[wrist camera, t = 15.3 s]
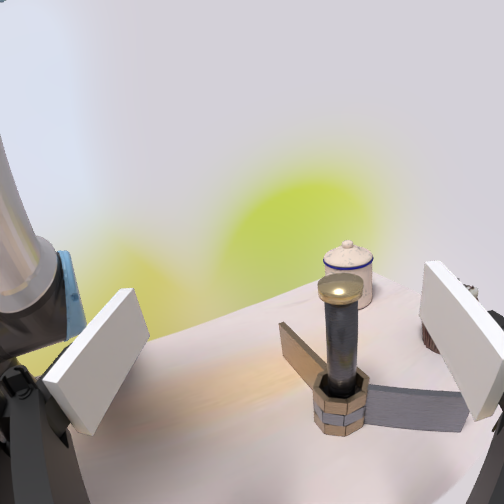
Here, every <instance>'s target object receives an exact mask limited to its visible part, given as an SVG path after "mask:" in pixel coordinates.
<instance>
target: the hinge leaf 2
mask: <svg viewBox="0 0 504 504" xmlns="http://www.w3.org/2000/svg"><path fill="white" fill-rule="evenodd" d="M366 386H367V385H366ZM322 391H323V392H324V393H325V395H326V396H328V385H326V386H324V387H323V389H322ZM361 391H362V389H361V388H360V387H359V386H357V385H355V394H357V393H359V392H361ZM313 405H314V411H315V412H316V414H317V415H318V417H319V418H320V420H321V421H322V422H323V423H326V424H331V425H336V426H342V427H343V426H346V425H349V424H351V423H353V422H355V421H357V420H359V419H361V418H363V415H364V413H365V415H364V423H365V424H372V425H380V426H388V427H396V428H405V429H416V430H429V431H445V432H461V430H462V428H463V425H464V423H465V421H466V419H467V417H468V414H469V412H470V411H469V409H468V406H467V404H466V402H465V400H464V398H463V396H462V394H461V392H450V391H433V390H420V389H408V388H397V387H388V386H379V385H371V384H368V389H367V398H366V404H365V405H364V406H363V407H361V408H359V409H357V410H356V411H354V412H352V413H350V414H348V415H339V414H331V413H325V412H323V411H322V409H321V408H320V407H319V406H318V405H317V404H316V402H315V401H314V400H313Z"/></svg>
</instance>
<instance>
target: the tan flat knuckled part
mask: <svg viewBox="0 0 504 504" xmlns="http://www.w3.org/2000/svg"><path fill="white" fill-rule="evenodd" d="M279 330H280V337H281V344H282V352H283V356H284V357H285V359H286V360H287V361H288V362H289V363H290V364H291V366H292V367H293V368H294V369H295V370H296V371H297V373H298V374H299V375H300V376H301V377H302V378H303V380H304V381H305V382H306V383H307V384H308V385H309V387H310V388H311V389H312V390H313V400H314V401H315V402H316V404H317V405H318V406H319V407H320V408H321V409H322V411H323V412H325V413H331V414H339V415H348V414H350V413H352V412H354V411H356V410H357V409H359V408H361V407H363V406H364V405H365V404H366V398H367V389H368V384H369V379H370V378H369V376H367V375H366V374H365V373H364V372H363V371H362V370H360V369H359V368H358V367H357V368H356V385H357V386H359V387H360V388H361V389H362V391H361V392H359V393H357V394H355V395H353V396H351V397H350V398H348V399H339V398H329V397H328V396H326V395H325V393H324V392H323V391H322V389H323V387H324V386H326V385H328V374H327V364H326V363H325V362H324V361H323V360H322V359H321V358H320V357H319V356H318V355H317V354H316V353H315V352H314V351H313V350H312V349H311V348H310V347H309V346H308V345H307V344H306V343H305V342H304V341H303V340H302V339H301V338H300V337H299V336H298V335H297V334H296V333H295V332H294V331H293V330H292V329H291V328H290V327H289V326H288V325H287V324H285V323H284V322H282V323H279ZM366 385H367V386H366ZM364 415H365V413H364ZM364 415H363V418H361V419H359V420H357V421H355V422H353V423H351V424H349V425H346V426H343V427H342V426H336V425H331V424H326V423H323V422H322V421H321V420H320V418H319V417H318V415H317V414H316V412H315V411H314V422H315V423H316V424H317V425H318V427H319V428H320V429H321V430H322V431H323V433H324V434H328V435H336V436H347V435H349V434H351V433H352V432H354V431H356V430H358V429H360V428H361V427H362V426H363V423H364Z"/></svg>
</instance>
